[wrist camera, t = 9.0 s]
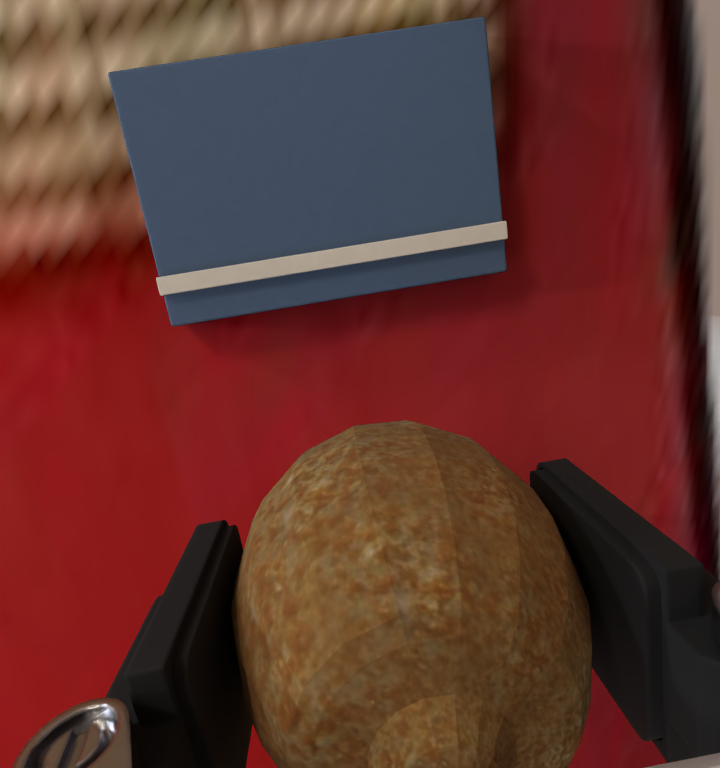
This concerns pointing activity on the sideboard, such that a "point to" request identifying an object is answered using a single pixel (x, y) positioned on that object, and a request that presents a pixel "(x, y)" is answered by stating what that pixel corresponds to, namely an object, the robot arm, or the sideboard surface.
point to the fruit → (410, 611)
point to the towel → (316, 169)
